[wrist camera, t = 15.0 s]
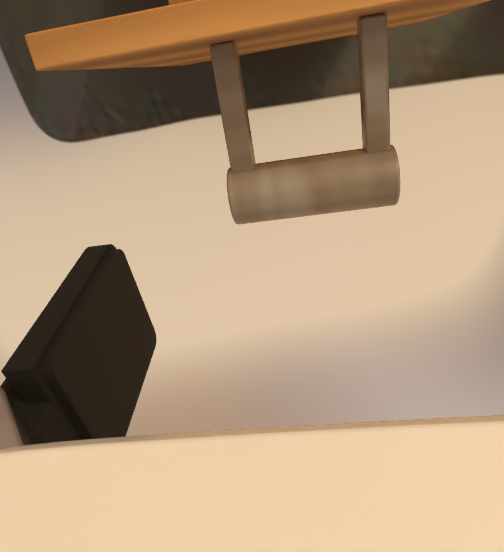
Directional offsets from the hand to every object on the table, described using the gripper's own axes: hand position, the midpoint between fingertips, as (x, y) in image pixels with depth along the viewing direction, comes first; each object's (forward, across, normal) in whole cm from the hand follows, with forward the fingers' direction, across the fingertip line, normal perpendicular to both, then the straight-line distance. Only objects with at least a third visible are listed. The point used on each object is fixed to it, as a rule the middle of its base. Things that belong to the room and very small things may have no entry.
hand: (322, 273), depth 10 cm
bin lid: (+10, 0, -4) cm, 11 cm away
